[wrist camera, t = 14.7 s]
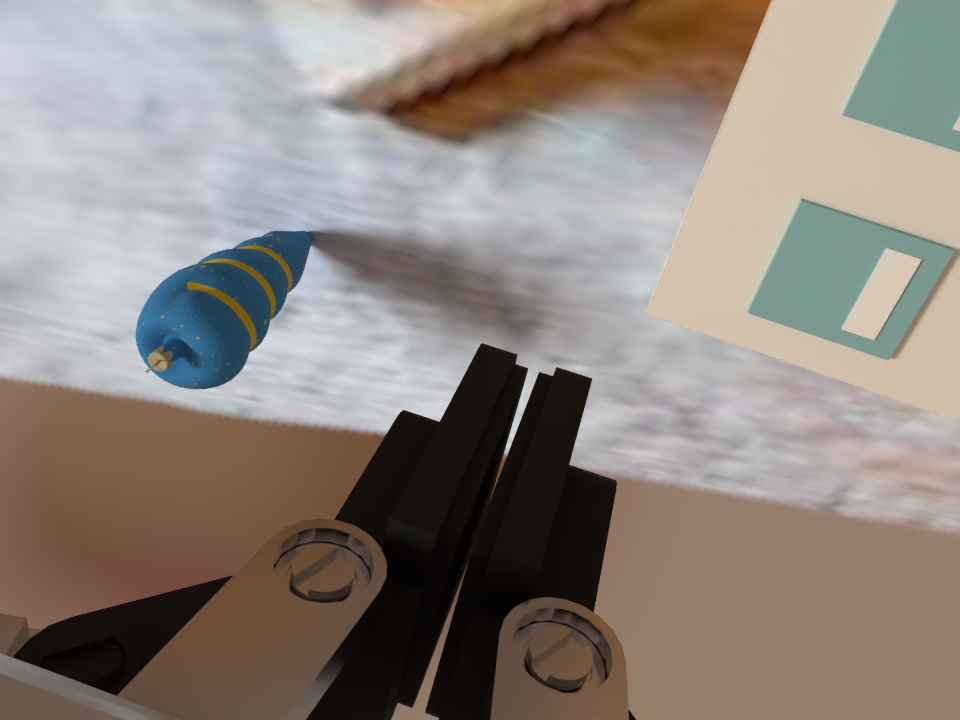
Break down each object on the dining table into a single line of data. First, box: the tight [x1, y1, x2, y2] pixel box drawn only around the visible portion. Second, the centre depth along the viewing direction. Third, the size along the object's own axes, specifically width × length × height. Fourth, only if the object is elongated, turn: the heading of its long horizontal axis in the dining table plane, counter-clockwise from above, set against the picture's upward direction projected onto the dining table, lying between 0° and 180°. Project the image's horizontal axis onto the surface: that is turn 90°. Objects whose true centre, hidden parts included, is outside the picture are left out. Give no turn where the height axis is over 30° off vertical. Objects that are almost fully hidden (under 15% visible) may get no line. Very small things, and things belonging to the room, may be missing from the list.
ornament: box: [136, 231, 312, 389], centre depth 41 cm, size 5×5×15 cm
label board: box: [647, 0, 960, 420], centre depth 37 cm, size 24×16×2 cm, turn 165°
